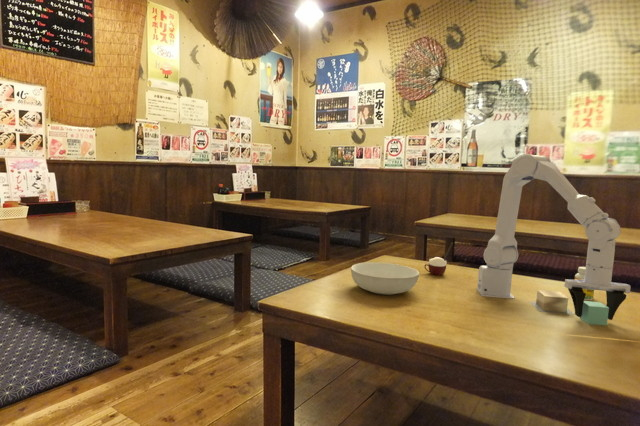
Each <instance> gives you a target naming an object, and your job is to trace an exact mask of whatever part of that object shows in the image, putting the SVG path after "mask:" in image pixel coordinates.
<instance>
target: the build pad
mask: <svg viewBox="0 0 640 426" xmlns="http://www.w3.org/2000/svg"><path fill="white" fill-rule="evenodd" d="M528 302H529V303H530V304H531V305H532V306H533V307H534V308H535V309H536V310H537V311H539V312H541V313H542V312H543V313H550V314H551V313H552V314H562V315H574V316H576V315H575V312H572V311H571V309H569V308H567V312H559V311H547V310H543V309H542V308H540V307H539V306H538V305H537V304H536V301H531V300H529V301H528Z"/></svg>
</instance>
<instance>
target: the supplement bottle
mask: <svg viewBox="0 0 640 426" xmlns="http://www.w3.org/2000/svg"><path fill="white" fill-rule="evenodd" d="M585 269H586V266H578V269H577V273H575V275H574V280H580V279H584V278H585ZM582 290H583V292H584V293H586V296H585V299H584V301H592V300H593V299H594V294H595V290H590V289H582Z"/></svg>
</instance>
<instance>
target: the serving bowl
mask: <svg viewBox="0 0 640 426" xmlns="http://www.w3.org/2000/svg"><path fill="white" fill-rule="evenodd" d="M350 273H351V277H352V280H353V282H354V283H355V284H356V285H357V286H358V287H360V288H362V289H363V290H365V291H367V292H368V291H369V292H371V293H373V294H377V295H389V296H390V295H396V294H397V295H398V294H402V293H406V292H408V291H410V290H412V288H414V286H416V284H417V282H418V280H419V278H420V277H419V276H420V272H419V270H417V269H416V268H413V267H410V266H406V265H402V264H397V263H393V262H392V263H391V262H378V261H376V262H370V261H369V262H359V263H355V264H353V265H352V266H351V267H350Z"/></svg>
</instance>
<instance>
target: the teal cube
mask: <svg viewBox="0 0 640 426" xmlns="http://www.w3.org/2000/svg"><path fill="white" fill-rule="evenodd" d="M608 312H609V308H608V307H607V306H606V305H605V304H604V303H602V302H601V301H592V300H584V302H583V309H582V316H581V317H579V318H580V319H581V320H582V321H583V322H584V323H586V324H587V325H595V326H597V325H598V326H607V325H608V320H609V319H608Z"/></svg>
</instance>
